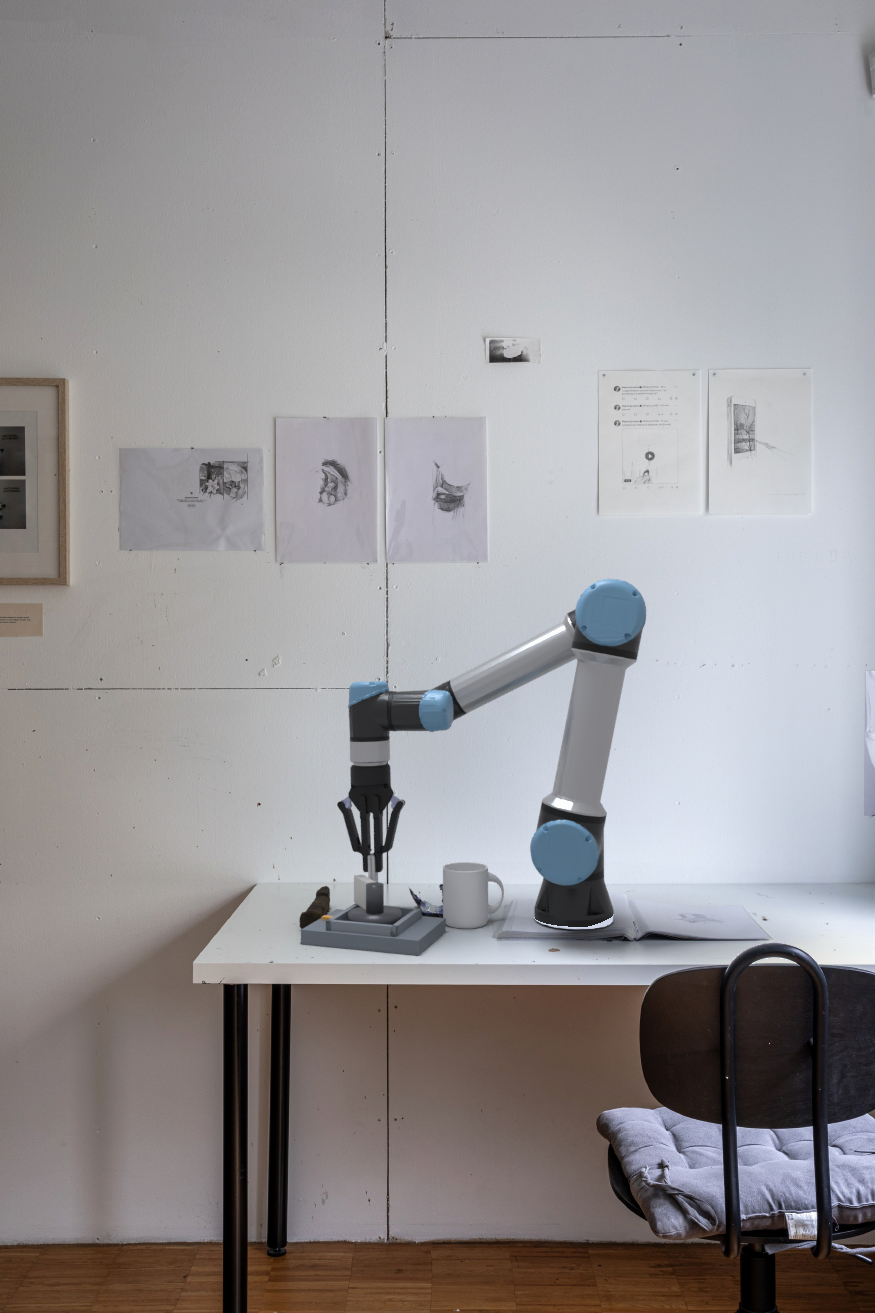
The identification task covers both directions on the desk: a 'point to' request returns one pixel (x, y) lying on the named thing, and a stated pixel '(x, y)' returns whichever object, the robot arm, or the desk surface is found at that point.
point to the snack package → (425, 904)
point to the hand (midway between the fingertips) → (373, 889)
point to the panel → (376, 932)
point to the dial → (371, 903)
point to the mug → (468, 894)
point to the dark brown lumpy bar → (316, 907)
